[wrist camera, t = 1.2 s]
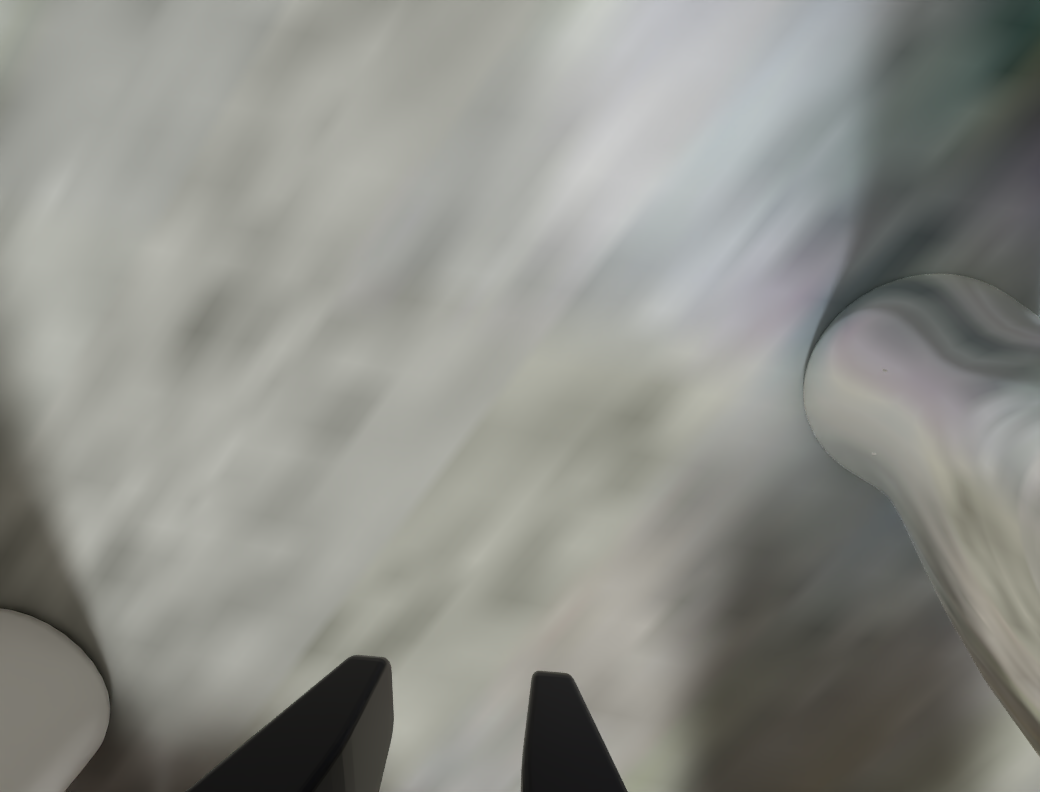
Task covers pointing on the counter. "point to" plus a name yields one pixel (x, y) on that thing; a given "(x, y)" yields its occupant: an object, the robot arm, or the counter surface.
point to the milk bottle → (46, 706)
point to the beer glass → (949, 453)
